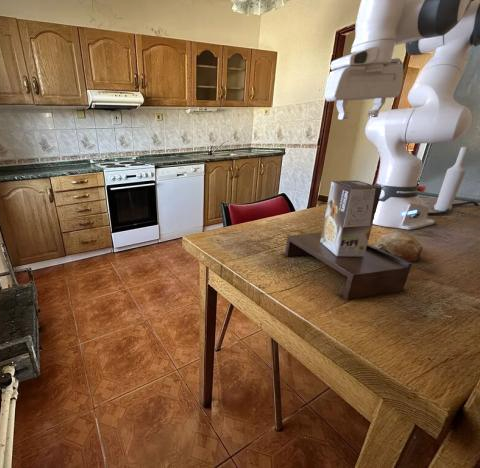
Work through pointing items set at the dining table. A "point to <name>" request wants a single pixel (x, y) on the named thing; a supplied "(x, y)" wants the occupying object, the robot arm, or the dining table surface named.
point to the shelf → (356, 266)
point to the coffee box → (349, 217)
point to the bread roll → (400, 246)
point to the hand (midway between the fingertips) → (357, 118)
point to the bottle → (451, 183)
